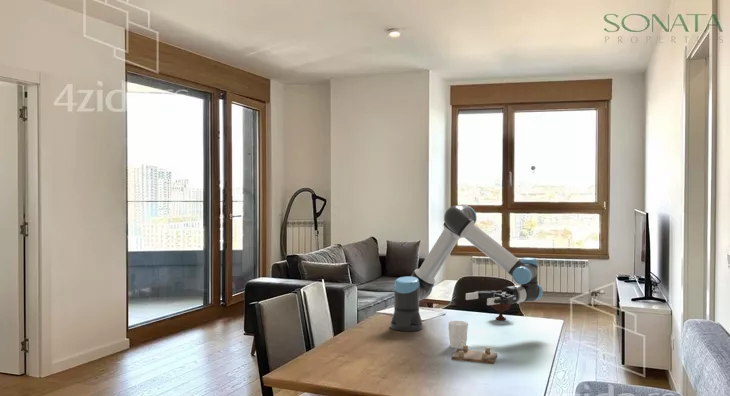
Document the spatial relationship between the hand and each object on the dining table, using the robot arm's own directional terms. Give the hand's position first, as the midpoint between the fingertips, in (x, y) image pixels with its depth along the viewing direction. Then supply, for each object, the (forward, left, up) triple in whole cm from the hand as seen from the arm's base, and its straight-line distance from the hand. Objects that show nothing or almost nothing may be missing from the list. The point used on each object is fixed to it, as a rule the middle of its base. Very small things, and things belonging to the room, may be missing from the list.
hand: (476, 299), depth 246 cm
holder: (+3, -20, -19) cm, 28 cm away
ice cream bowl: (+5, +51, -19) cm, 54 cm away
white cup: (-6, -7, -19) cm, 22 cm away
